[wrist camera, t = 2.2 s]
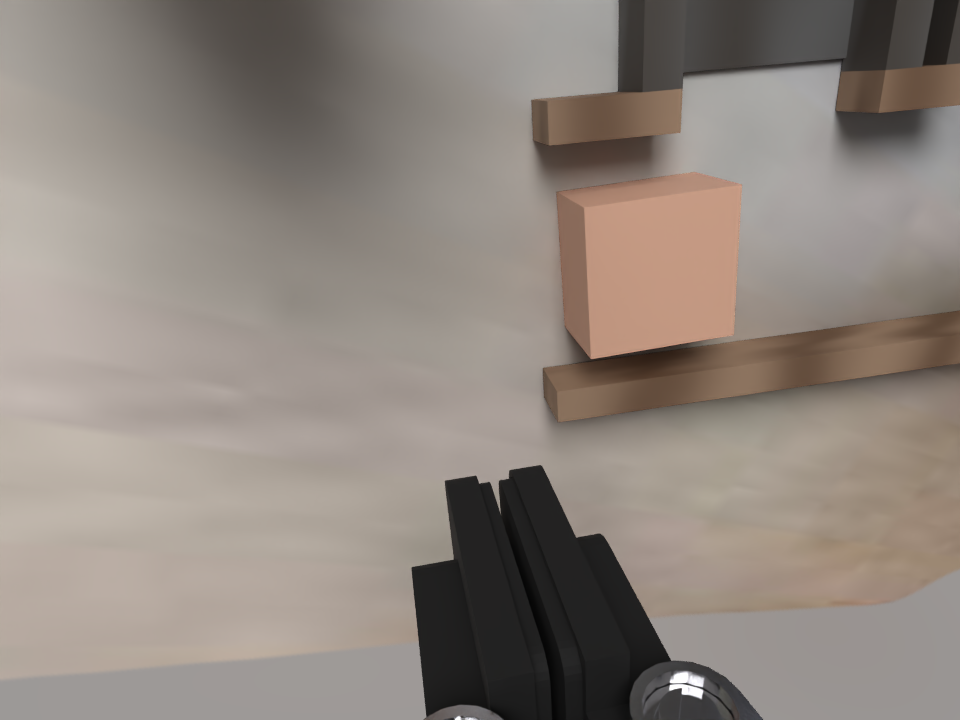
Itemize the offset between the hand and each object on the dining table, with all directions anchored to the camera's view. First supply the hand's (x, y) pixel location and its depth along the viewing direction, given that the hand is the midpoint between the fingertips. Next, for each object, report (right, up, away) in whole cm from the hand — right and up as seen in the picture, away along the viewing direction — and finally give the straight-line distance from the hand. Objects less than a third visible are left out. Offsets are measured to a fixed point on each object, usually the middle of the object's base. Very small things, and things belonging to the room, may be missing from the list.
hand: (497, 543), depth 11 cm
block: (+6, +8, +17) cm, 20 cm away
